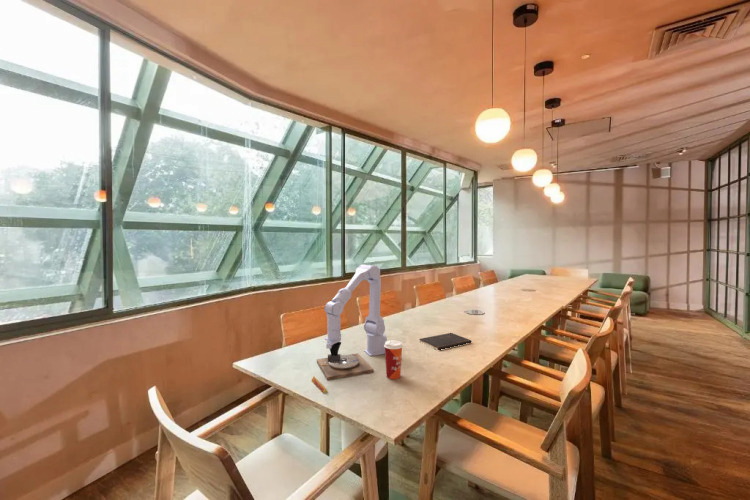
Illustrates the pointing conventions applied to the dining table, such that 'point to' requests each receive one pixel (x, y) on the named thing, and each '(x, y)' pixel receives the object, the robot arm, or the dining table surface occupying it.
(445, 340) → the black spiral notebook
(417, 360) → the dining table surface
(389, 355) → the paper cup
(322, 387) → the chocolate bar
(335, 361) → the dial
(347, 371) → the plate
